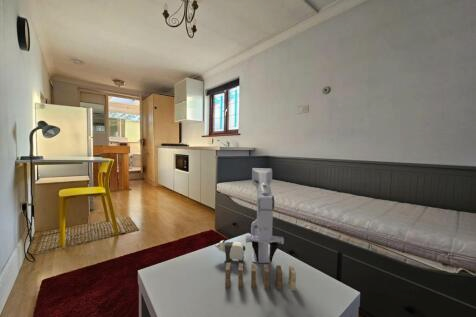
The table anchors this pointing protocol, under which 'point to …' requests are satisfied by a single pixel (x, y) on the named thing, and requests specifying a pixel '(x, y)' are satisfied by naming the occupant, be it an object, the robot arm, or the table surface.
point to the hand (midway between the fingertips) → (263, 260)
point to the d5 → (279, 277)
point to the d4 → (266, 277)
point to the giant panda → (232, 250)
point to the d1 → (227, 274)
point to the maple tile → (292, 278)
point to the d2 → (240, 275)
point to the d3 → (253, 276)
